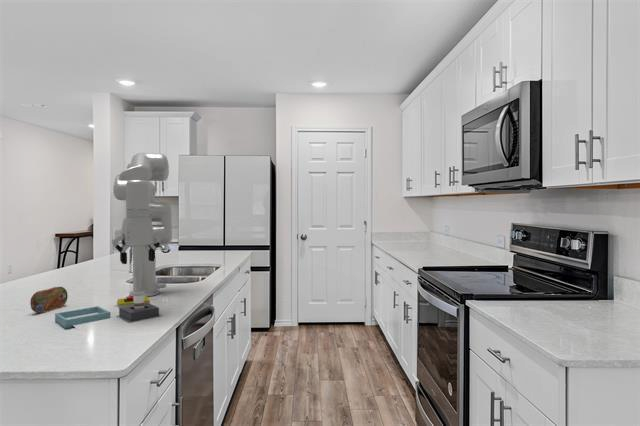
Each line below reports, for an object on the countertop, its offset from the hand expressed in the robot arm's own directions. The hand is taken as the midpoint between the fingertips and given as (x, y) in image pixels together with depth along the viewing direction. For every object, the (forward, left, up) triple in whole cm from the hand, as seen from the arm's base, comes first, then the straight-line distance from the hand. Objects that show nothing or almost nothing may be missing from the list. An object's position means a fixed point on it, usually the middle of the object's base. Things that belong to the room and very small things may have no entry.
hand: (138, 262), depth 147 cm
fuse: (0, 0, -19) cm, 19 cm away
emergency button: (-6, -19, -21) cm, 29 cm away
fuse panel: (0, 0, -20) cm, 20 cm away
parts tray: (+15, -11, -21) cm, 27 cm away
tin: (+19, -37, -21) cm, 46 cm away
